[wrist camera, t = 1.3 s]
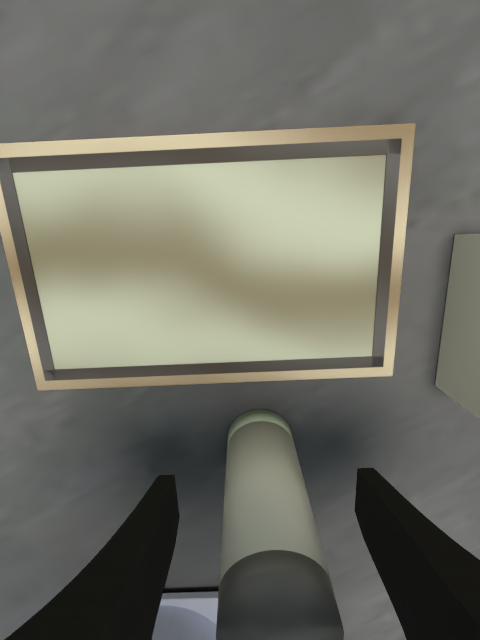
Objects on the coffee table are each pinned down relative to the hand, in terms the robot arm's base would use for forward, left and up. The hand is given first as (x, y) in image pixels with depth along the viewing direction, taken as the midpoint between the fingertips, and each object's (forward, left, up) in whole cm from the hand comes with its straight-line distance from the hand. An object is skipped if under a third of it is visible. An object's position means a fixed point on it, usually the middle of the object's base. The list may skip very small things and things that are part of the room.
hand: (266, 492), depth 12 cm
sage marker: (0, 0, -4) cm, 4 cm away
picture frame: (+8, +2, -4) cm, 9 cm away
